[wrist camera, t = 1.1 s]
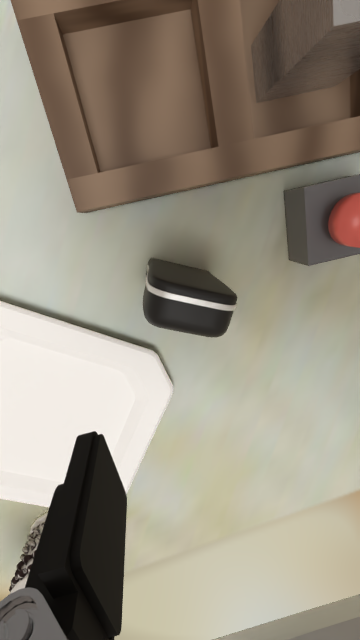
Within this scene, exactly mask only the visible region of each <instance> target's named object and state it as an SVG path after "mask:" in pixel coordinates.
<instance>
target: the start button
mask: <svg viewBox="0 0 360 640" xmlns="http://www.w3.org/2000/svg"><path fill="white" fill-rule="evenodd" d="M328 228H329V233H330V235H331V237H332V239H333V240H334V241H335V242H336V243H338V244H340V245H343V246H350V247H357V248H360V193H353V194H349V195H347V196H345V197H343V198H342V199H340V200H339V201H338V202H337V203H336V205H335V206H334V208H333V209H332V211H331V213H330V216H329V221H328Z"/></svg>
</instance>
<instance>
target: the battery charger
mask: <svg viewBox="0 0 360 640" xmlns="http://www.w3.org/2000/svg"><path fill="white" fill-rule="evenodd" d="M236 301H237V296H236V294H235V293H234V292H233V291H232V290H231V289H230V288H228V287H227V286H226V285H225V284H224V283H222V282H221V281H220V280H218V279H217V278H215V277H214V276H213V275H212V274H211V273H210V272H208V271H205V270H201V269H196V268H192V267H188V266H184V265H180V264H175V263H171V262H167V261H162V260H158V259H153V258H152V259H150V260H149V263H148V264H147V273H146V286H145V291H144V296H143V311H144V315H145V318H146V319H147V321H148V322H149V323H150V324H152V325H154V326H156V327H160V328H164V329H169V330H174V331H179V332H184V333H190V334H195V335H201V336H206V337H219V336H222V335H223V334H224V333H225V332H226V330H227V328H228V326H229V323H230V320H231V317H232V314H233V311H234V310H235V309H236V305H237V303H236Z"/></svg>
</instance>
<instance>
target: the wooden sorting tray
mask: <svg viewBox="0 0 360 640" xmlns="http://www.w3.org/2000/svg"><path fill="white" fill-rule="evenodd" d="M11 3H12V6H13V9H14V13H15V16H16V19H17V22H18V25H19V28H20V32H21V35H22V38H23V41H24V44H25V48H26V51H27V54H28V57H29V60H30V64H31V67H32V70H33V73H34V76H35V80H36V83H37V86H38V89H39V92H40V95H41V99H42V102H43V105H44V108H45V111H46V115H47V118H48V121H49V124H50V127H51V131H52V134H53V137H54V140H55V143H56V147H57V150H58V153H59V156H60V159H61V163H62V166H63V169H64V172H65V175H66V178H67V182H68V185H69V188H70V191H71V194H72V198H73V201H74V204H75V207H76V210H77V212H80V213H88V212H92V211H97V210H101V209H106V208H110V207H115V206H119V205H124V204H128V203H133V202H137V201H142V200H146V199H151V198H155V197H160V196H164V195H169V194H173V193H178V192H182V191H187V190H191V189H196V188H200V187H205V186H209V185H214V184H218V183H223V182H227V181H232V180H236V179H241V178H245V177H250V176H254V175H259V174H263V173H268V172H272V171H277V170H281V169H286V168H290V167H295V166H299V165H304V164H308V163H313V162H317V161H322V160H326V159H331V158H335V157H340V156H344V155H349V154H353V153H358V152H360V0H11Z"/></svg>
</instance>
